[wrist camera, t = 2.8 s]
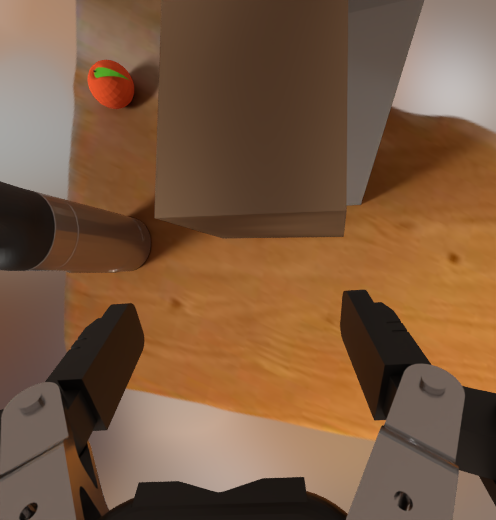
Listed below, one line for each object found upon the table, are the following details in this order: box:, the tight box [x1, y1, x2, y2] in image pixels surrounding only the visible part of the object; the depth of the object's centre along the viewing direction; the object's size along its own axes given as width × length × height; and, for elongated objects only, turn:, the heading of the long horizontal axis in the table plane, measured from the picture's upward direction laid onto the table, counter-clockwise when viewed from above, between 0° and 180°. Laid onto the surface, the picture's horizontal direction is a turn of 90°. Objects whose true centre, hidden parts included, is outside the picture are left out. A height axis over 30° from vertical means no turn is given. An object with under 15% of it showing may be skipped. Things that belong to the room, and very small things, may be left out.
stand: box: [346, 0, 424, 205], centre depth 25 cm, size 9×9×32 cm
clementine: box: [88, 60, 134, 109], centre depth 48 cm, size 8×7×7 cm
